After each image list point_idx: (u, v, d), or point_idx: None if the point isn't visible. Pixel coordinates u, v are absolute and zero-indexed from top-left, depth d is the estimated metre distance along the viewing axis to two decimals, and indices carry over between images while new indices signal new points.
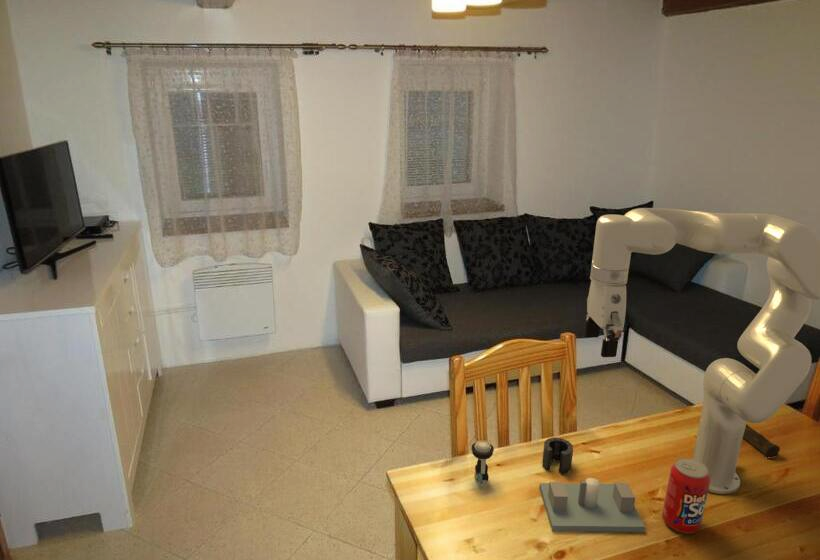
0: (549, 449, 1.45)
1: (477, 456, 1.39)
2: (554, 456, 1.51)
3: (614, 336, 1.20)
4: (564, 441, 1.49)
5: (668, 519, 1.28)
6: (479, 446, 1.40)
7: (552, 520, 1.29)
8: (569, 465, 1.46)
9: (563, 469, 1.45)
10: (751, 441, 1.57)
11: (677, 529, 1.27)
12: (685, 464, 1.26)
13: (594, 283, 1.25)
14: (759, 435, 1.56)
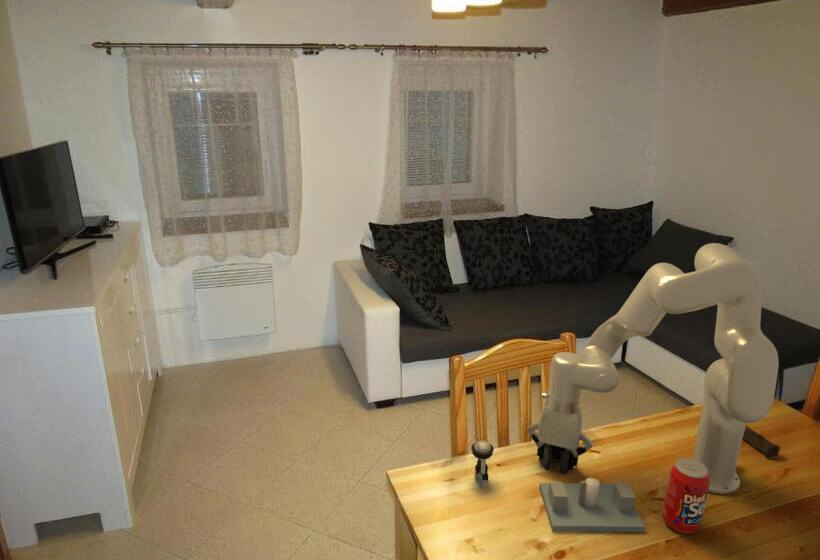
0: (549, 449, 1.45)
1: (477, 456, 1.39)
2: (554, 456, 1.51)
3: None
4: None
5: (668, 519, 1.28)
6: (479, 446, 1.40)
7: (552, 520, 1.29)
8: (569, 465, 1.46)
9: (563, 469, 1.45)
10: (751, 441, 1.57)
11: (677, 529, 1.27)
12: (685, 464, 1.26)
13: None
14: (758, 435, 1.56)
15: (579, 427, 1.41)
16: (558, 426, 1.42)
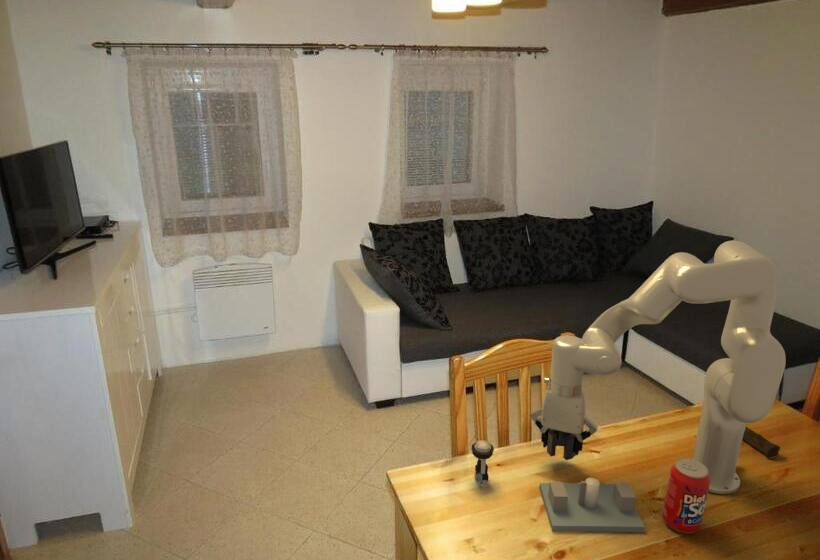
0: (553, 434, 1.44)
1: (477, 456, 1.39)
2: (559, 442, 1.49)
3: None
4: None
5: (668, 519, 1.28)
6: (479, 446, 1.40)
7: (552, 520, 1.29)
8: (574, 450, 1.44)
9: (568, 454, 1.44)
10: (750, 442, 1.56)
11: (677, 529, 1.27)
12: (685, 464, 1.26)
13: None
14: (758, 435, 1.56)
15: (583, 411, 1.39)
16: (561, 410, 1.41)
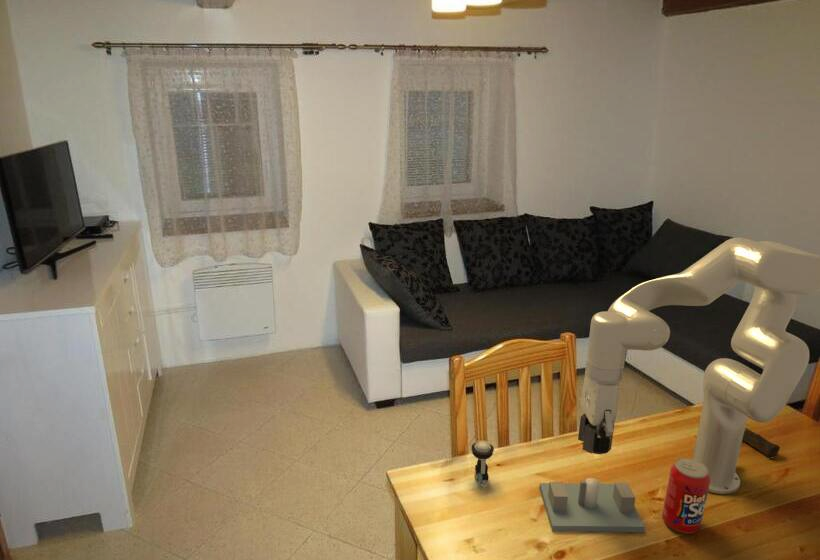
0: (583, 416, 1.29)
1: (477, 456, 1.39)
2: None
3: None
4: None
5: (668, 519, 1.28)
6: (479, 446, 1.40)
7: (552, 520, 1.29)
8: None
9: (585, 444, 1.27)
10: (750, 442, 1.56)
11: (677, 529, 1.27)
12: (685, 464, 1.26)
13: None
14: (757, 435, 1.56)
15: (599, 400, 1.21)
16: (588, 391, 1.25)
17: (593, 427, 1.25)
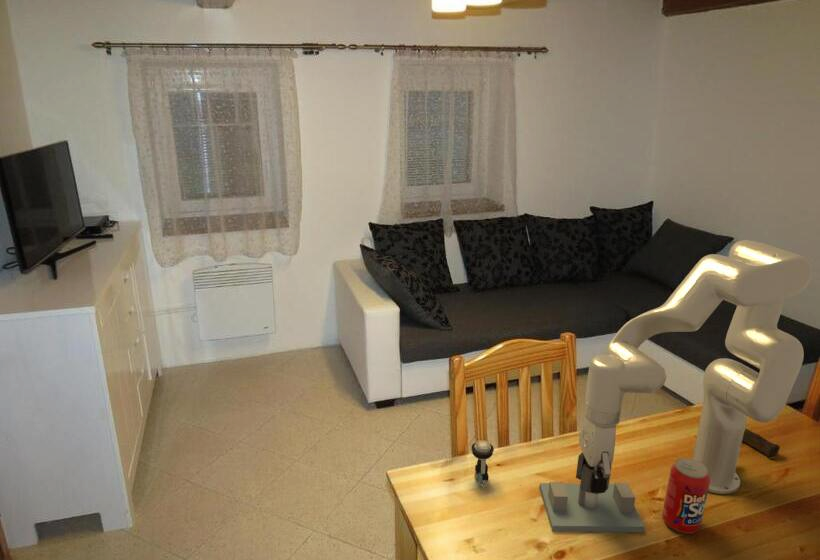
0: (581, 455, 1.31)
1: (477, 456, 1.39)
2: None
3: None
4: None
5: (668, 519, 1.28)
6: (479, 446, 1.40)
7: (552, 520, 1.29)
8: None
9: (582, 483, 1.29)
10: (750, 442, 1.56)
11: (677, 529, 1.27)
12: (685, 464, 1.26)
13: None
14: (757, 435, 1.56)
15: (596, 442, 1.23)
16: (586, 432, 1.27)
17: (591, 467, 1.27)
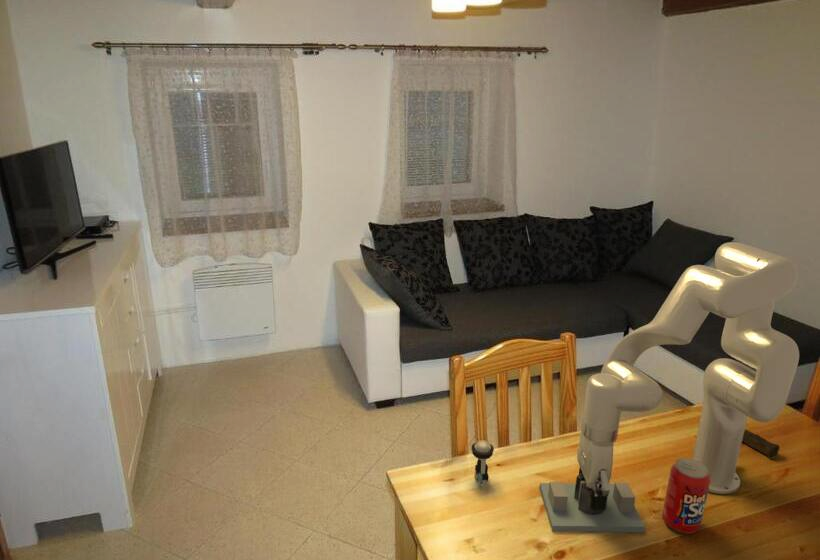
0: (579, 477, 1.33)
1: (477, 456, 1.39)
2: None
3: None
4: None
5: (668, 519, 1.28)
6: (479, 446, 1.40)
7: (552, 520, 1.29)
8: (589, 506, 1.30)
9: (580, 504, 1.31)
10: (750, 443, 1.56)
11: (677, 529, 1.27)
12: (685, 464, 1.26)
13: None
14: (756, 436, 1.56)
15: (594, 460, 1.24)
16: (584, 449, 1.29)
17: (588, 489, 1.29)
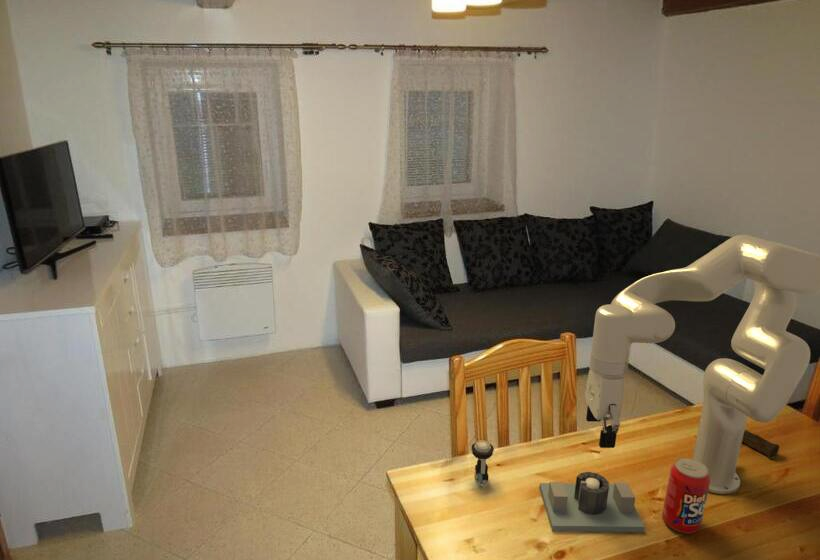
0: (579, 477, 1.33)
1: (477, 456, 1.39)
2: None
3: None
4: (605, 485, 1.31)
5: (668, 519, 1.28)
6: (479, 446, 1.40)
7: (552, 520, 1.29)
8: (589, 506, 1.30)
9: (580, 504, 1.31)
10: (749, 443, 1.56)
11: (677, 529, 1.27)
12: (685, 464, 1.26)
13: None
14: (756, 436, 1.56)
15: (603, 395, 1.19)
16: (592, 385, 1.24)
17: (588, 489, 1.29)
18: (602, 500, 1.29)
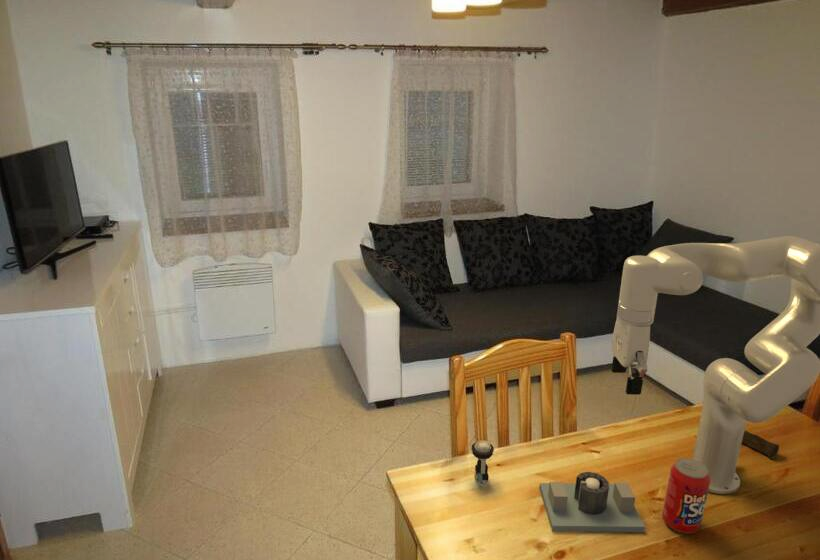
0: (579, 477, 1.33)
1: (477, 456, 1.39)
2: None
3: None
4: (605, 485, 1.31)
5: (668, 519, 1.28)
6: (479, 446, 1.40)
7: (552, 520, 1.29)
8: (589, 506, 1.30)
9: (580, 504, 1.31)
10: (749, 444, 1.56)
11: (677, 529, 1.27)
12: (685, 464, 1.26)
13: None
14: (756, 436, 1.56)
15: (631, 342, 1.24)
16: (619, 335, 1.28)
17: (588, 489, 1.29)
18: (602, 500, 1.29)
